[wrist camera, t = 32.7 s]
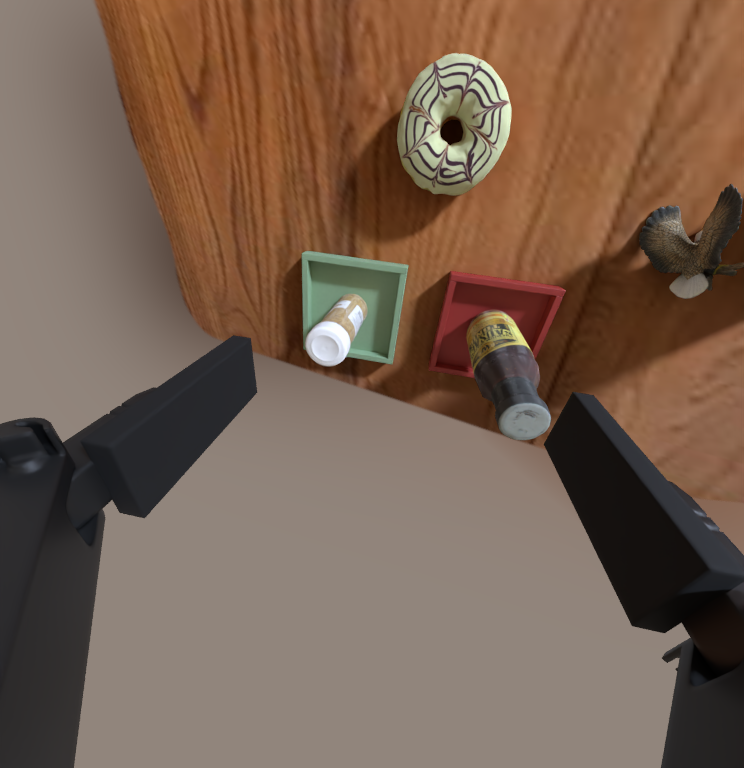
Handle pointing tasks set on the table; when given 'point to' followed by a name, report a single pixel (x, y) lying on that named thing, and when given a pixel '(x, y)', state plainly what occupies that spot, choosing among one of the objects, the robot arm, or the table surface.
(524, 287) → the red tray
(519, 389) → the sauce bottle
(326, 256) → the green tray
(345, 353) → the sprinkles bottle
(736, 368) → the table surface
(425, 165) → the decorated donut
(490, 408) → the table surface
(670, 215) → the eagle figurine
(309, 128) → the table surface
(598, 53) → the table surface
